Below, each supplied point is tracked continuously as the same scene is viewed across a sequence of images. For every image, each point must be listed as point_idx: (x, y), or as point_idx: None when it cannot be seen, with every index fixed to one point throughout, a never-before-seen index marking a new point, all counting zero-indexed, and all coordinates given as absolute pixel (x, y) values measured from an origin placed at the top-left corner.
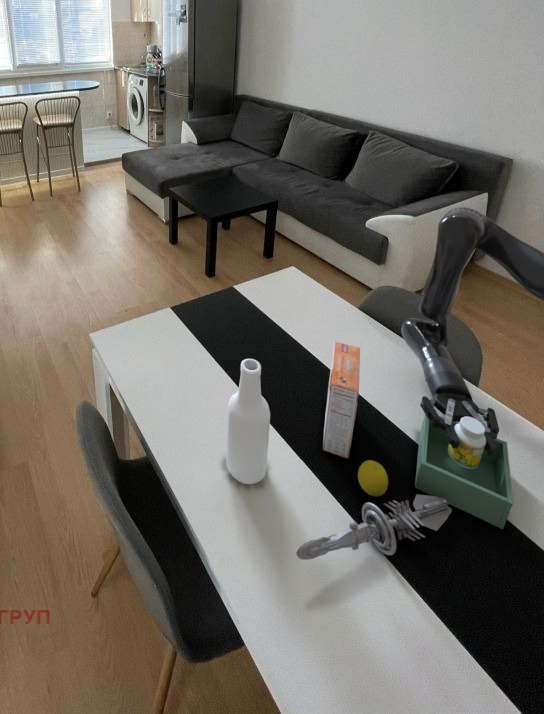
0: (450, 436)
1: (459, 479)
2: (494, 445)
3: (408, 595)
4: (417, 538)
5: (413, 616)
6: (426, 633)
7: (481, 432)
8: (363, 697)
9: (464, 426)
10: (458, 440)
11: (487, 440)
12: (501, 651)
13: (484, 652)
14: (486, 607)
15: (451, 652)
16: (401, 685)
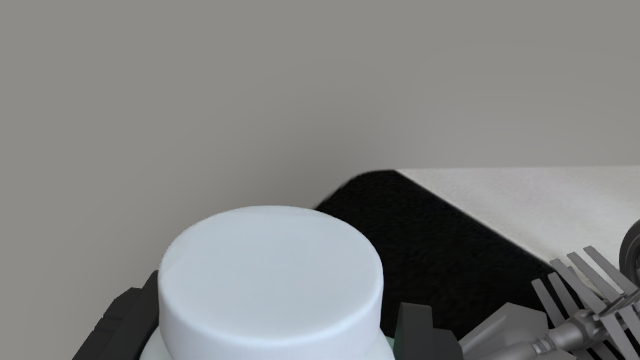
0: (452, 352)
1: (391, 338)
2: (123, 305)
3: (556, 252)
4: (557, 275)
5: (545, 230)
6: (521, 214)
7: (242, 208)
8: (621, 170)
9: (370, 246)
10: (405, 307)
11: (158, 312)
12: (383, 203)
13: (416, 202)
14: (381, 244)
15: (478, 200)
16: (566, 177)
